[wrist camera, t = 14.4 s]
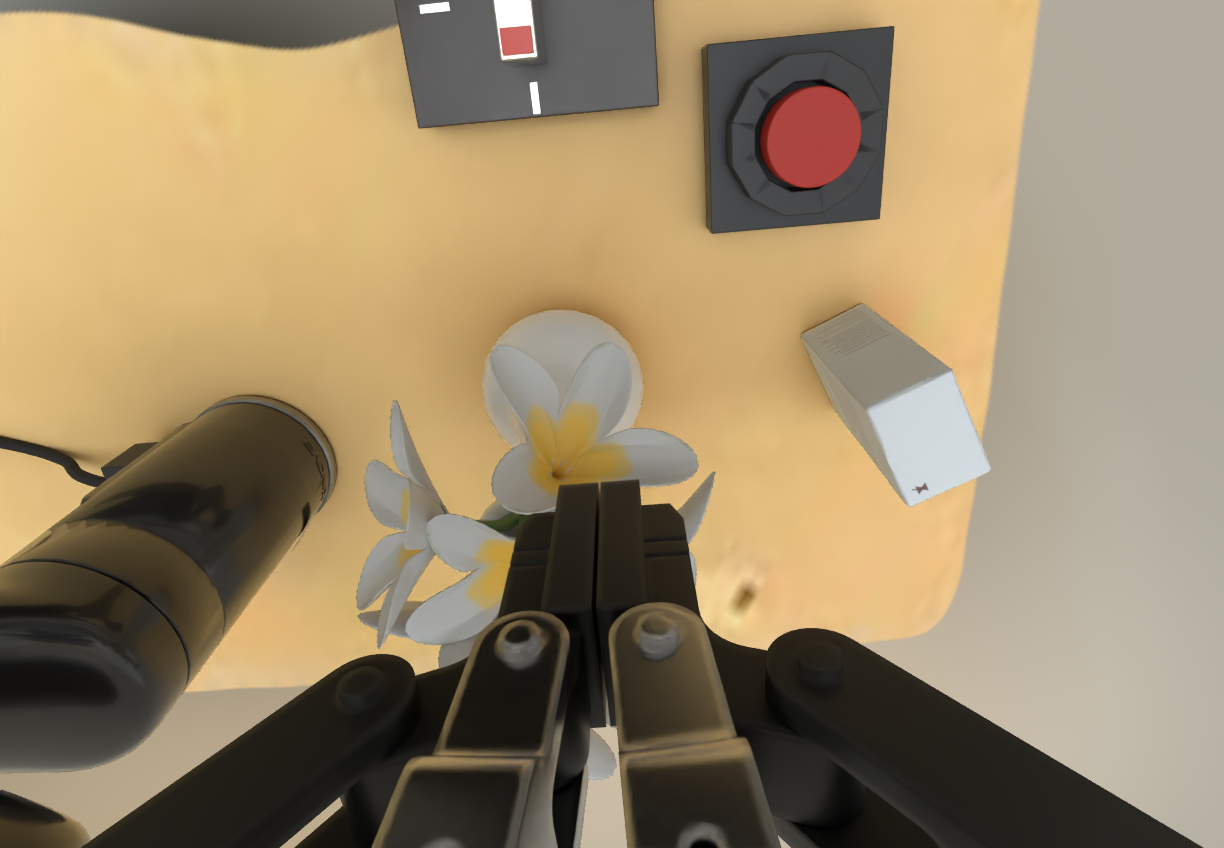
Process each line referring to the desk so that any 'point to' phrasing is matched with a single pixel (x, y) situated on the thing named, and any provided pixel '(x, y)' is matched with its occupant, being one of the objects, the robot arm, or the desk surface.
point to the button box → (740, 101)
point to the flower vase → (518, 480)
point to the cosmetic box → (897, 404)
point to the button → (810, 136)
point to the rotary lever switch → (495, 91)
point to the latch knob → (520, 32)
